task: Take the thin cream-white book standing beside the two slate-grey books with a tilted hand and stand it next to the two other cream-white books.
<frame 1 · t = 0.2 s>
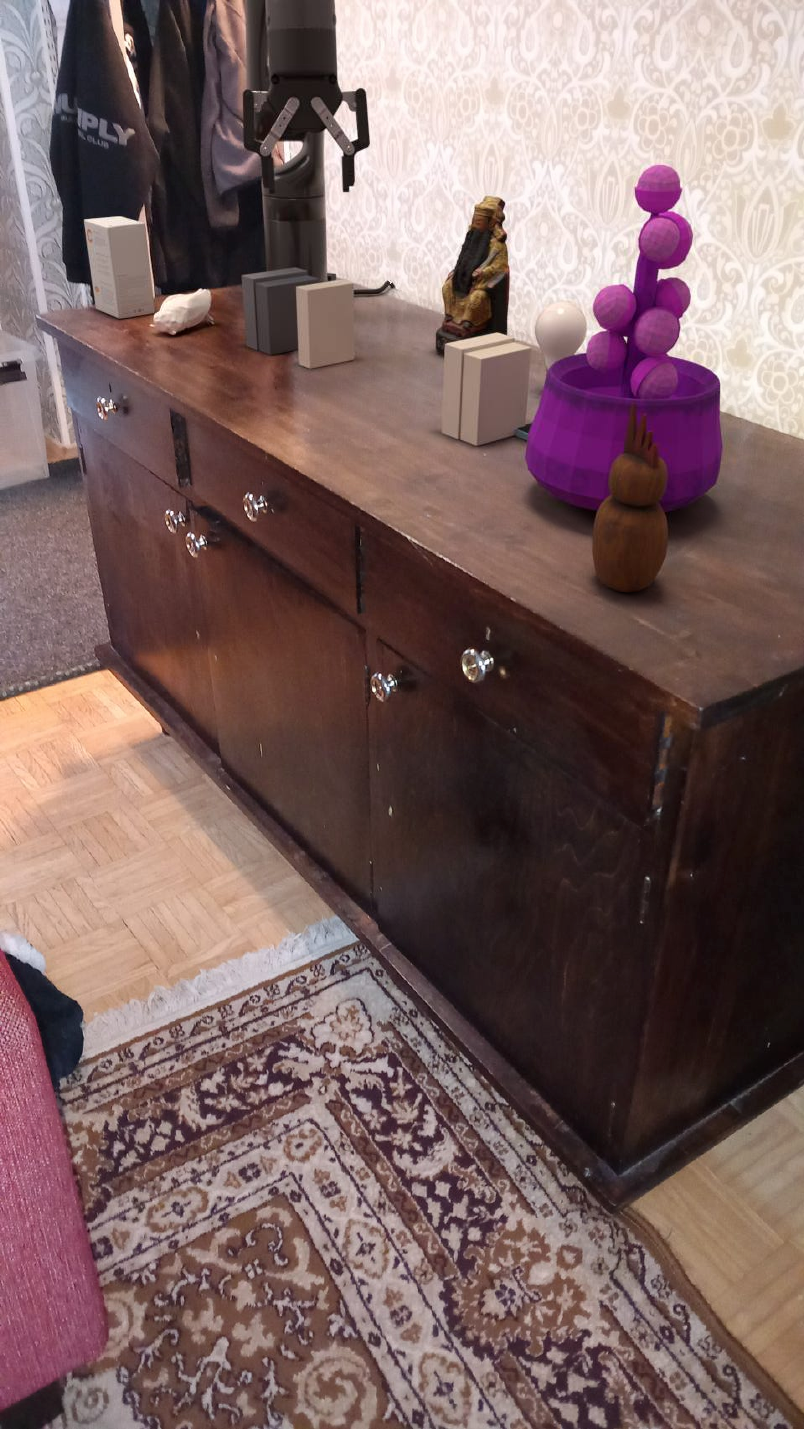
hand: (309, 192, 124), 22 cm above the table, tool pointing down, fingers open, 8 cm apart
white books: (483, 432, 123), on the table
white book: (326, 362, 145), on the table
lightbulb: (554, 393, 136), on the table
decorative plant: (616, 501, 107), on the table
small box: (125, 312, 167), on the table
grey books: (284, 345, 152), on the table
statue: (474, 359, 148), on the table
wooden figurine: (622, 584, 92), on the table
smartphone: (578, 435, 124), on the table
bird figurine: (185, 331, 158), on the table
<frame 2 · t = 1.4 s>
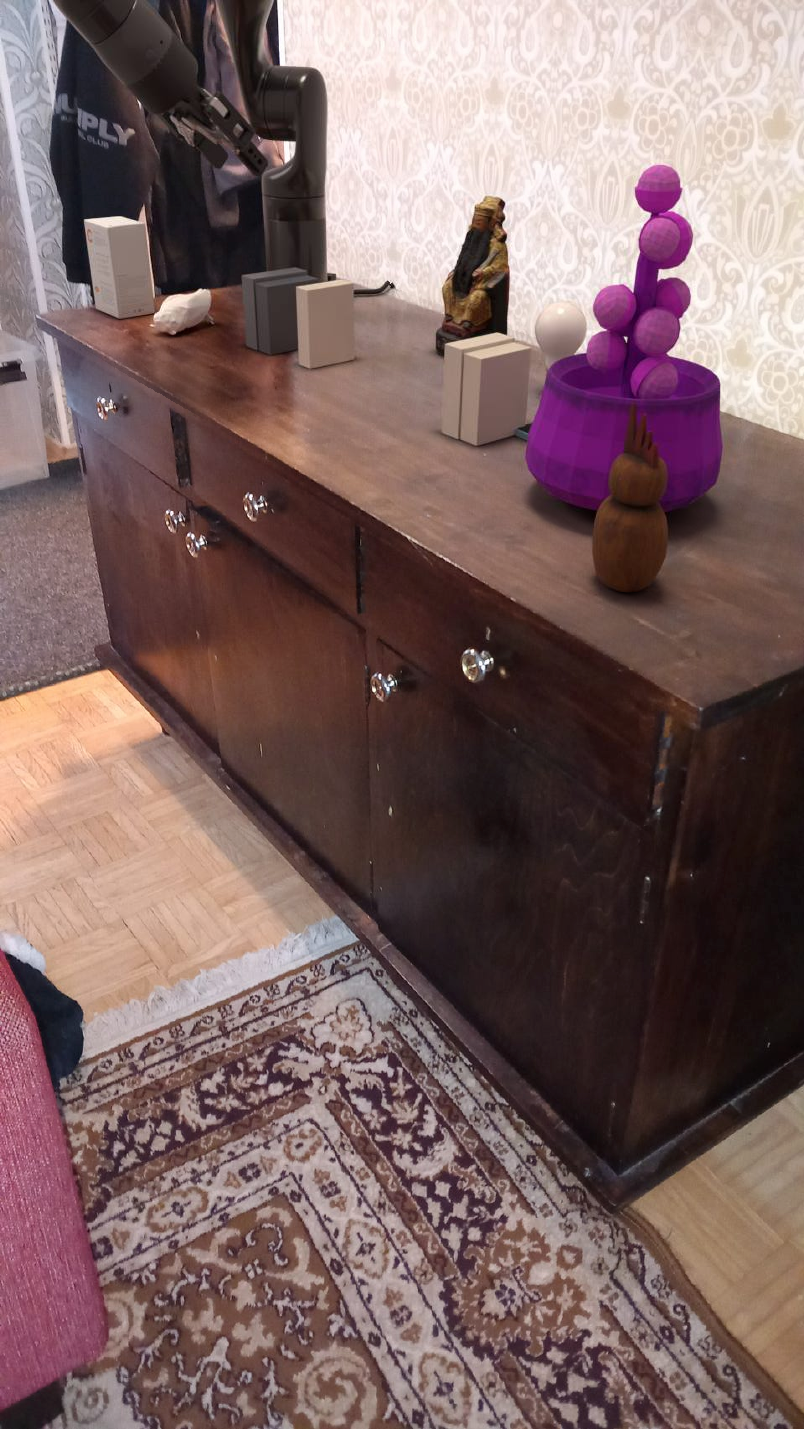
hand: (242, 166, 125), 25 cm above the table, tool tilted 45°, fingers open, 8 cm apart
nothing on the table moved.
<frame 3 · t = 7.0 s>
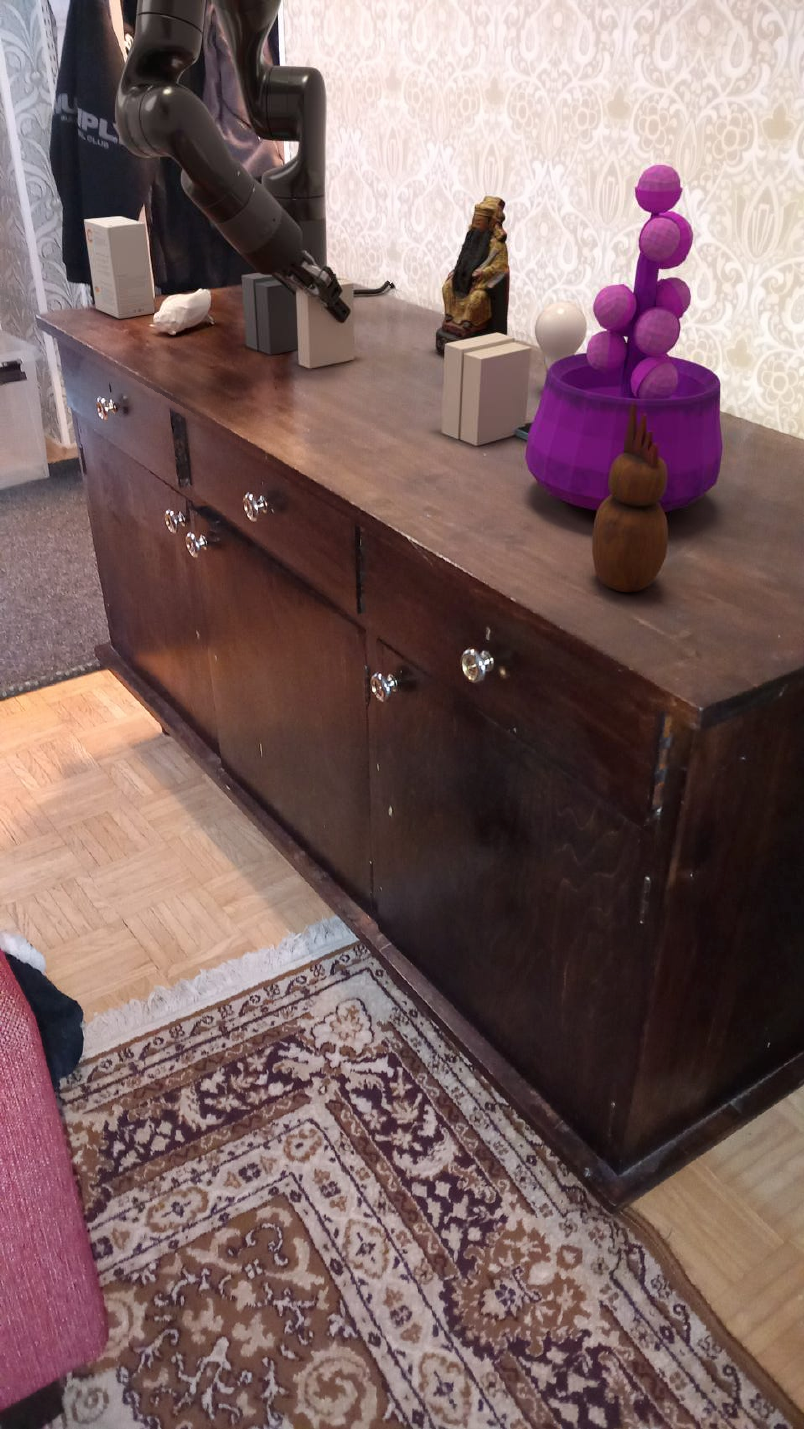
hand: (337, 314, 143), 6 cm above the table, tool tilted 45°, fingers closed on white book, 2 cm apart
white book: (326, 361, 145), on the table, touching gripper
everything else where it was.
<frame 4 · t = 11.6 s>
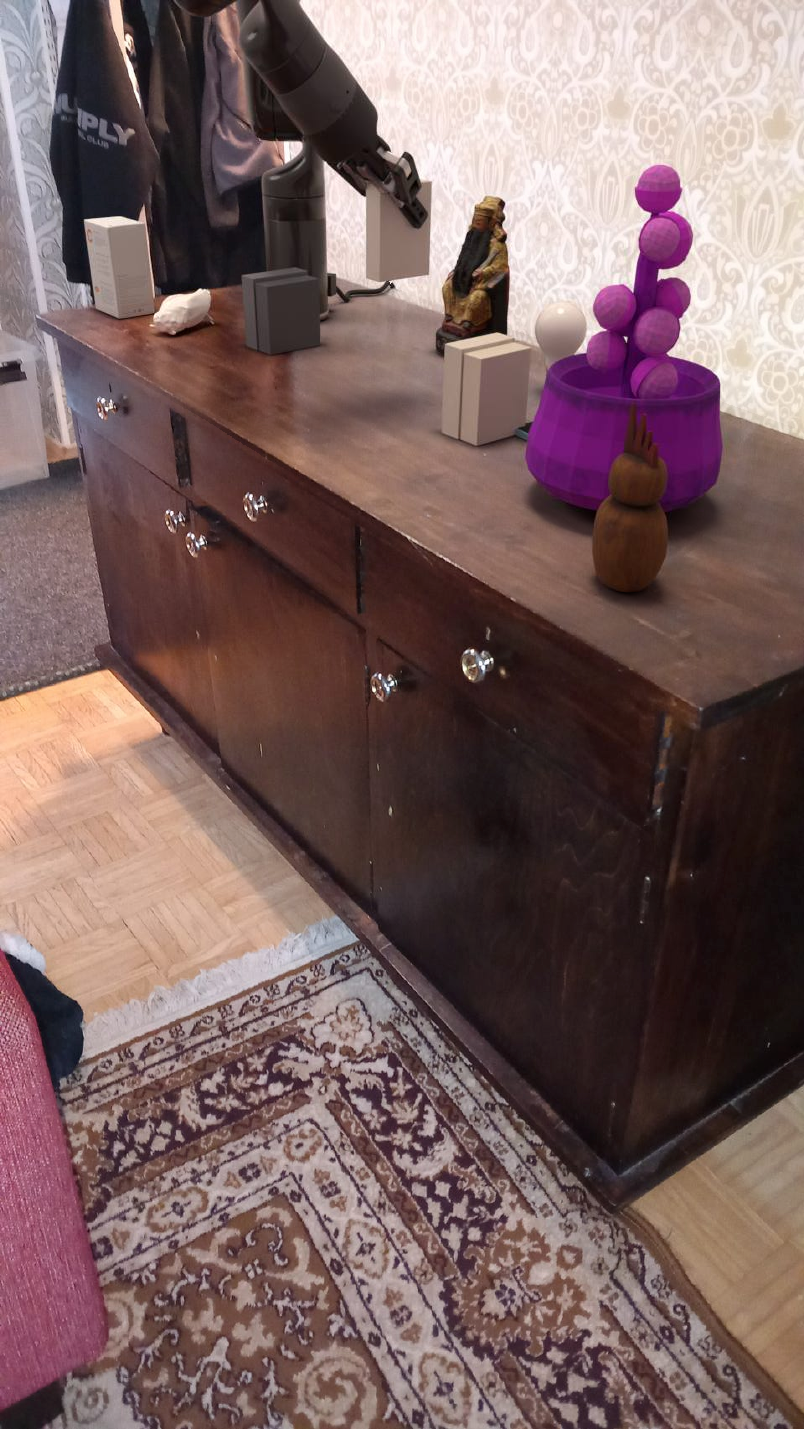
hand: (412, 219, 123), 20 cm above the table, tool tilted 45°, fingers closed on white book, 2 cm apart
white book: (397, 276, 125), point 14 cm above the table, touching gripper
everything else where it was.
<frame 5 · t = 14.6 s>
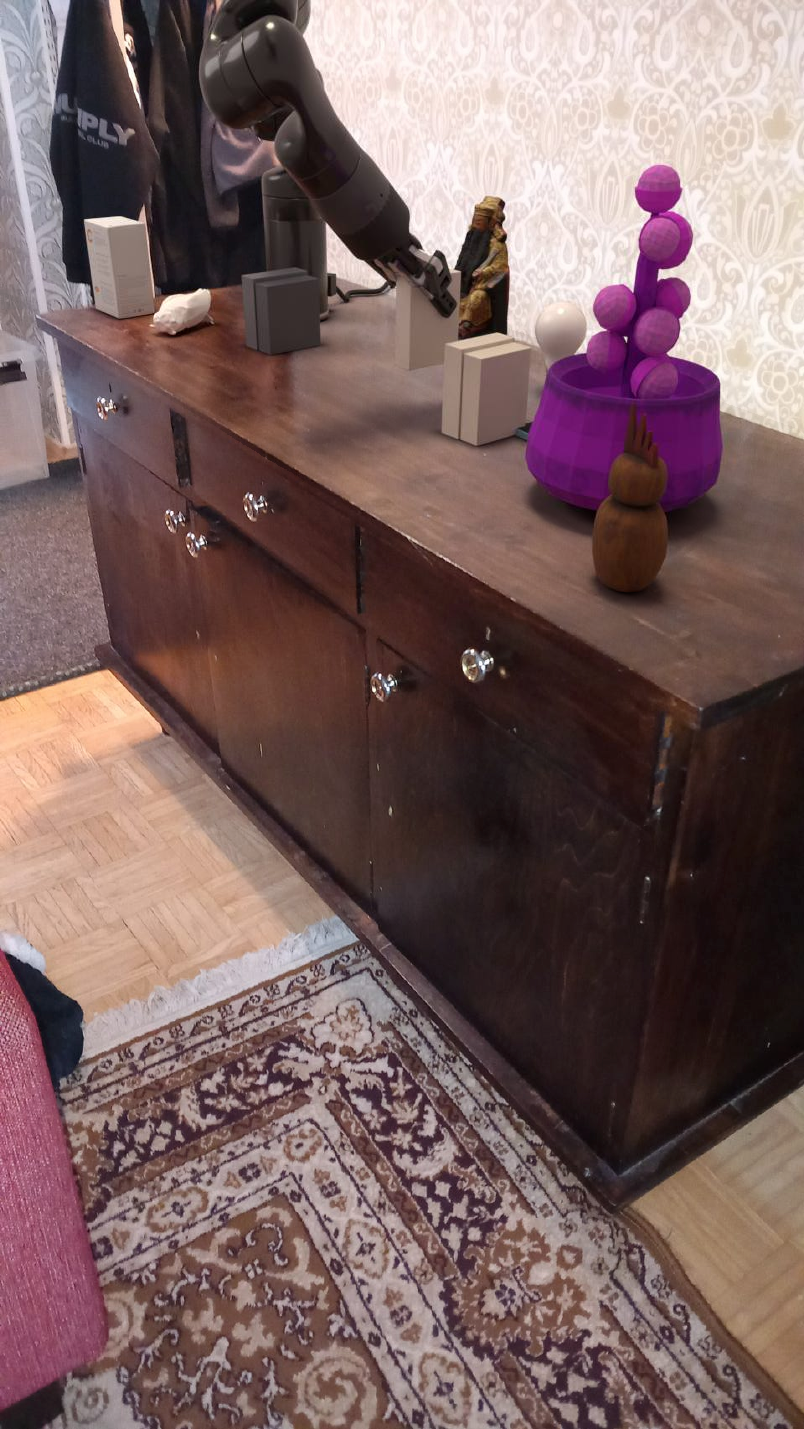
hand: (441, 308, 124), 12 cm above the table, tool tilted 45°, fingers closed on white book, 2 cm apart
white book: (426, 363, 126), point 6 cm above the table, touching gripper
everything else where it was.
when the fingers open (6 cm above the table, at t = 16.4 s): white book stays where it is, on the table.
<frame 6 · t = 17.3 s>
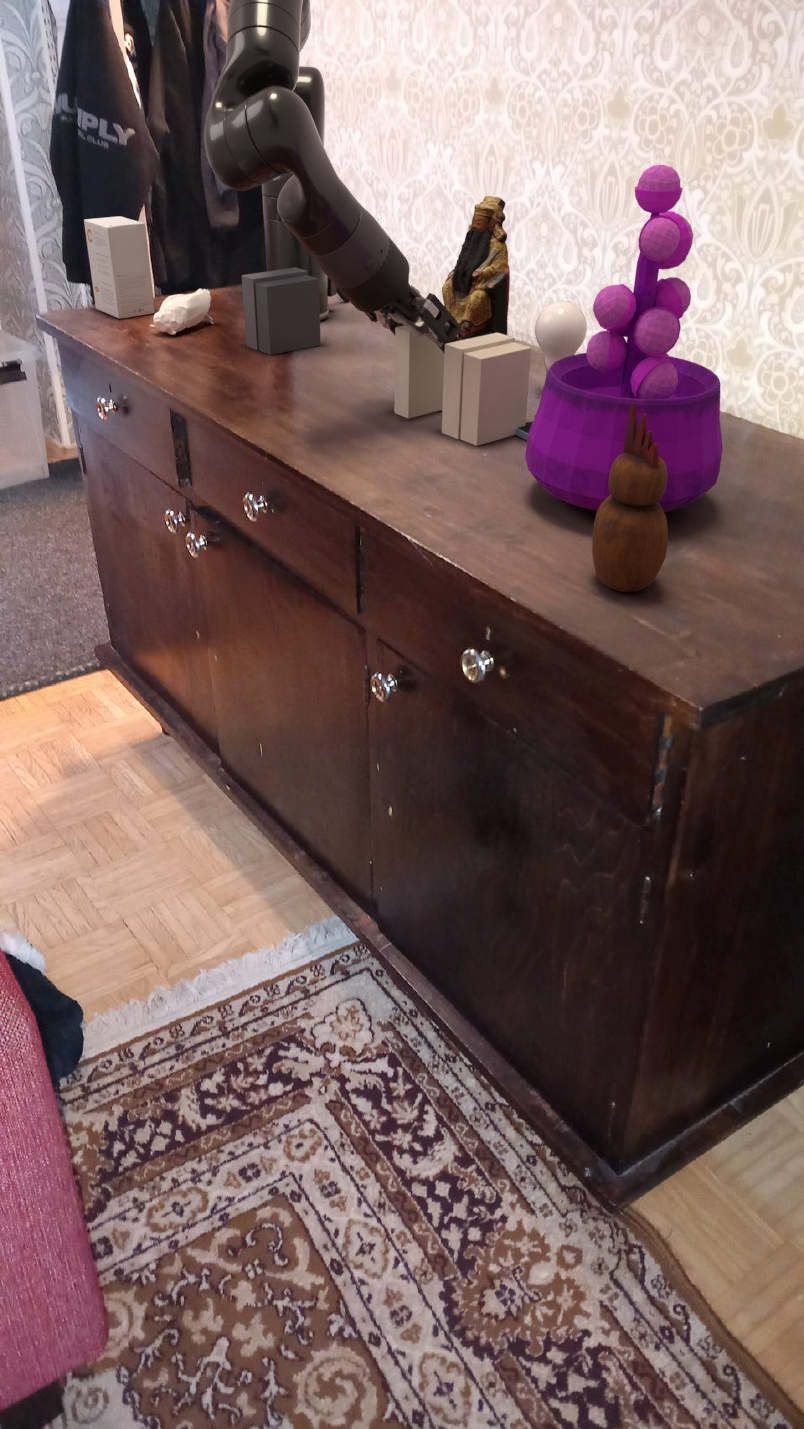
hand: (435, 348, 126), 7 cm above the table, tool tilted 45°, fingers open, 8 cm apart
white book: (425, 409, 129), on the table
everything else where it was.
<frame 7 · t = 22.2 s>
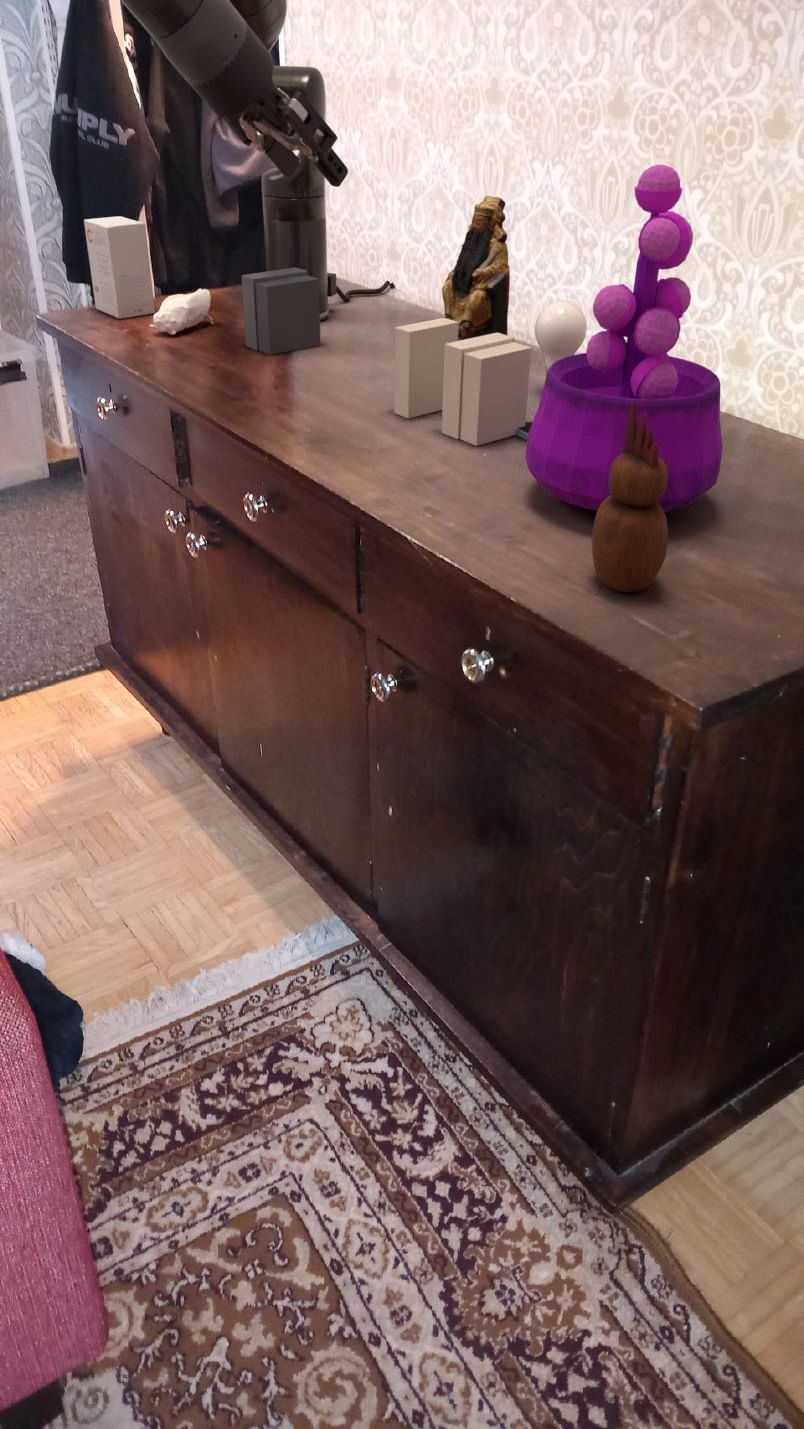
hand: (316, 174, 112), 26 cm above the table, tool tilted 45°, fingers open, 8 cm apart
nothing on the table moved.
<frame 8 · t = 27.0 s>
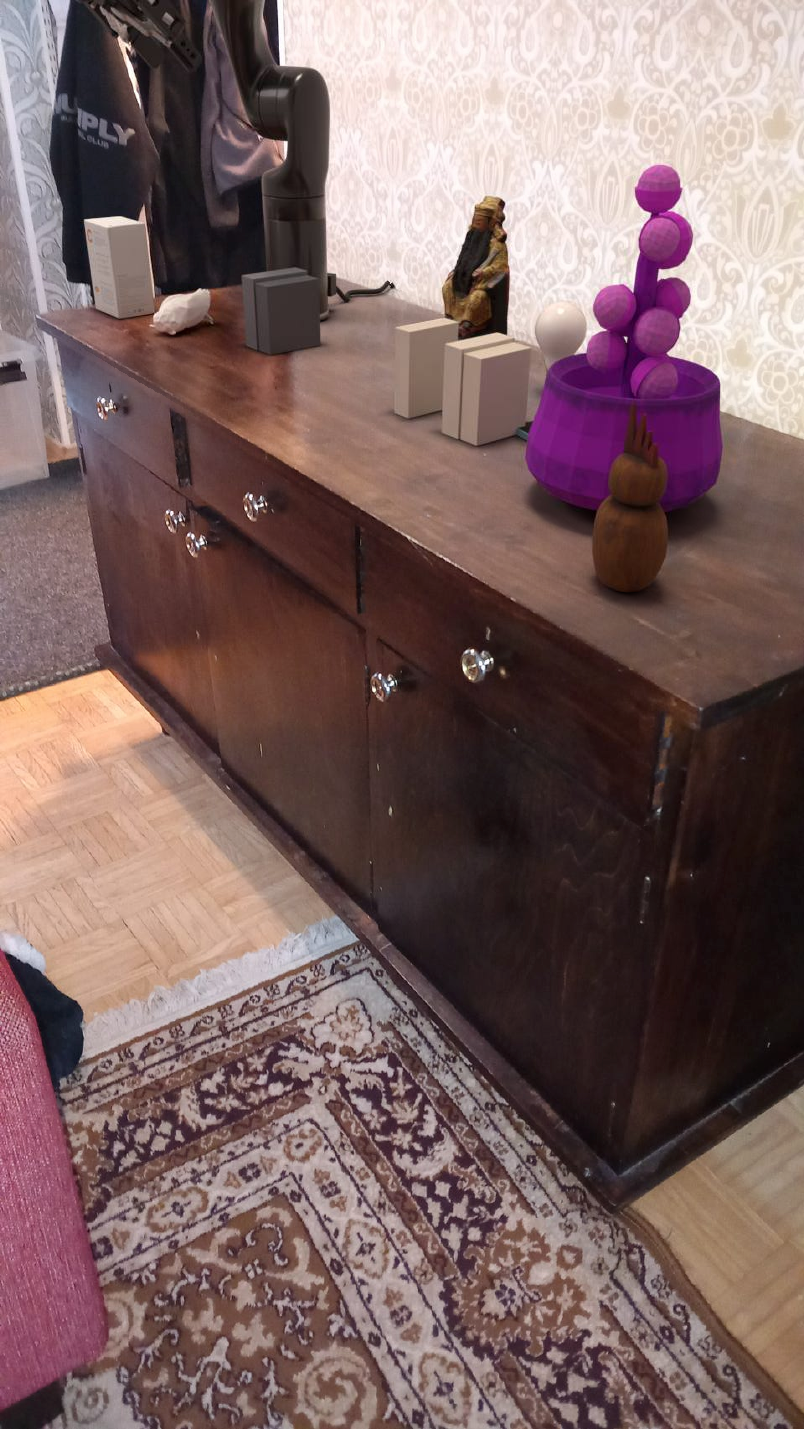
hand: (177, 64, 122), 35 cm above the table, tool tilted 45°, fingers open, 8 cm apart
nothing on the table moved.
at the end: white book 0.2 cm from the target spot on the table beside the white books, on the table; white book tilted 0°; white book moved 23.7 cm from its start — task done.
